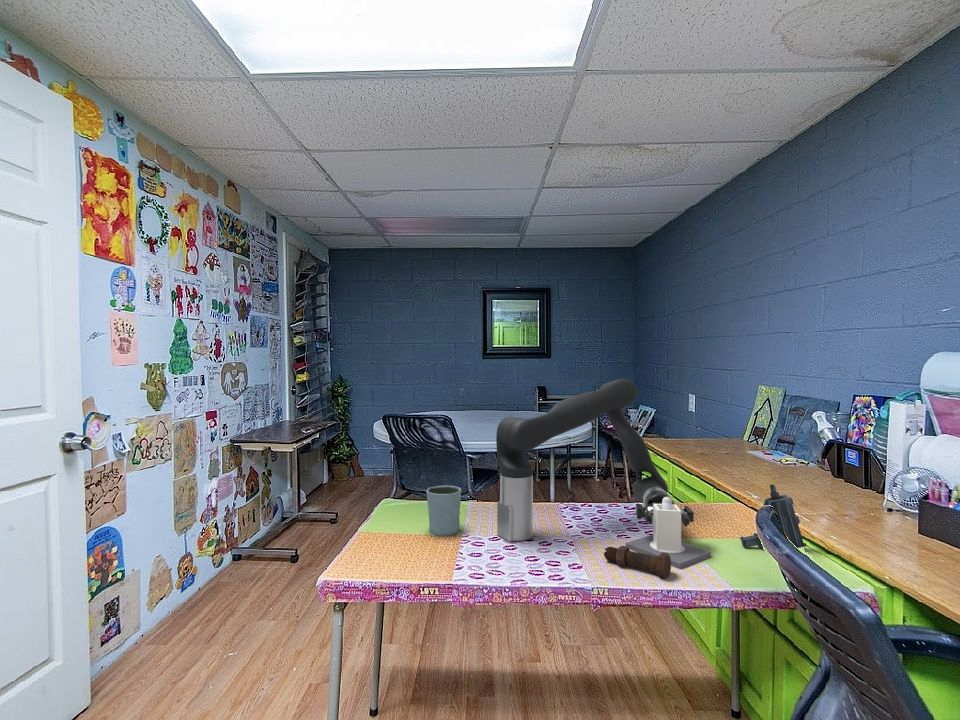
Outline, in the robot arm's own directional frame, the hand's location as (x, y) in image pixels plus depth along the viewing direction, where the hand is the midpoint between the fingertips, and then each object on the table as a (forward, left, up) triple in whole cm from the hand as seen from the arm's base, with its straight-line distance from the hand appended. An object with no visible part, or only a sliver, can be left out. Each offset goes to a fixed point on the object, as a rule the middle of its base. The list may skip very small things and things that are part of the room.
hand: (668, 521), depth 125 cm
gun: (+26, -13, -9) cm, 31 cm away
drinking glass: (-39, +47, -9) cm, 62 cm away
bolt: (-13, 0, -9) cm, 16 cm away
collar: (+1, +1, -7) cm, 7 cm away
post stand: (+1, +1, -8) cm, 9 cm away
